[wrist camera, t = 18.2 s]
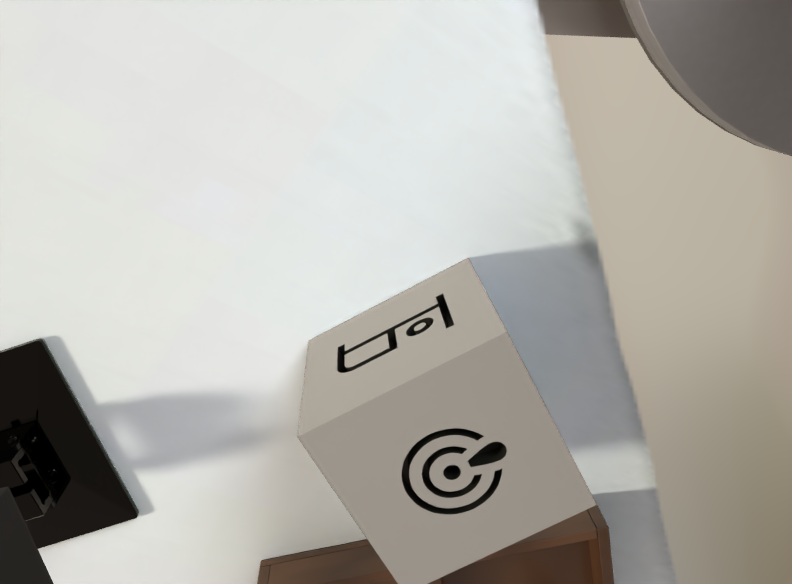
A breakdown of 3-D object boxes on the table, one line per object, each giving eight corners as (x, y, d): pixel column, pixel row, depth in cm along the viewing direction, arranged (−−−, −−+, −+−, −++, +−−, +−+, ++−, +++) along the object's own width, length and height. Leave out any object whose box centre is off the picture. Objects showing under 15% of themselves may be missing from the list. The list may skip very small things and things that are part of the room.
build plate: (141, 512, 43) (118, 567, 39) (30, 546, 44) (-5, 605, 39) (42, 336, 39) (4, 376, 34) (-81, 377, 39) (-134, 421, 35)
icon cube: (468, 258, 39) (506, 331, 29) (541, 398, 42) (596, 504, 33) (308, 340, 40) (297, 437, 31) (392, 471, 43) (405, 594, 34)
